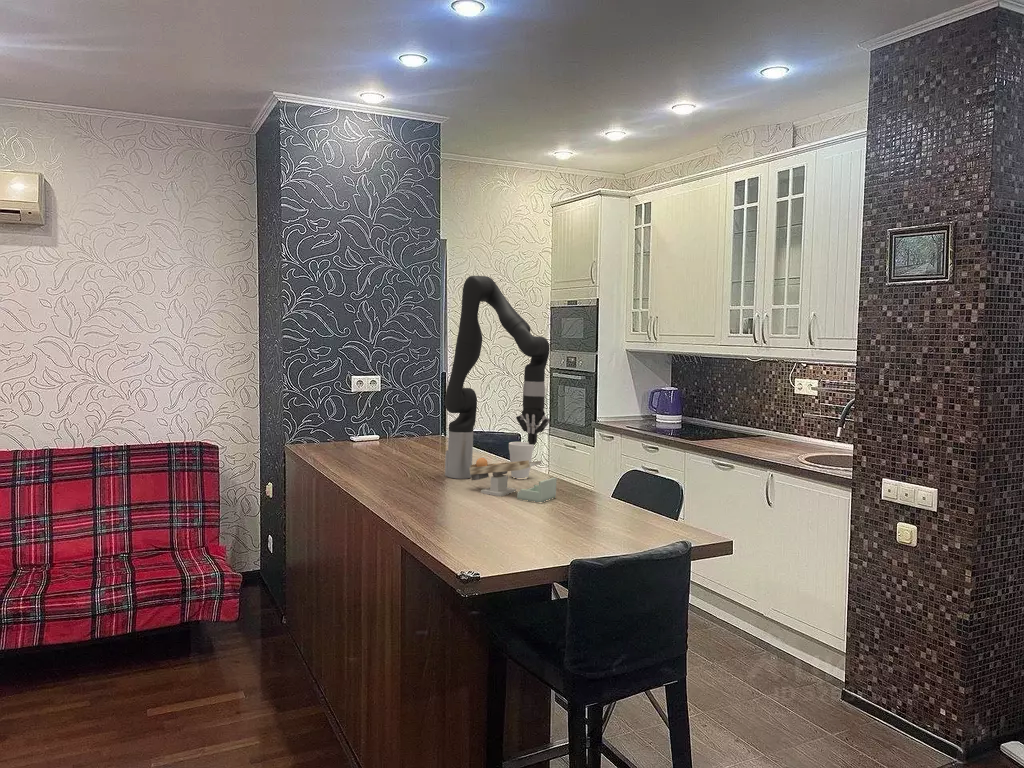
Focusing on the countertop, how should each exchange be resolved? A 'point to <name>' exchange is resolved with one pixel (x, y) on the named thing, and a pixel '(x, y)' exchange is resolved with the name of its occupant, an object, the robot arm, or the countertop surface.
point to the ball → (481, 462)
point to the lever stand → (498, 486)
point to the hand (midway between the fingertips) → (532, 444)
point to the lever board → (499, 468)
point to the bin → (539, 491)
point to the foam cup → (520, 456)
